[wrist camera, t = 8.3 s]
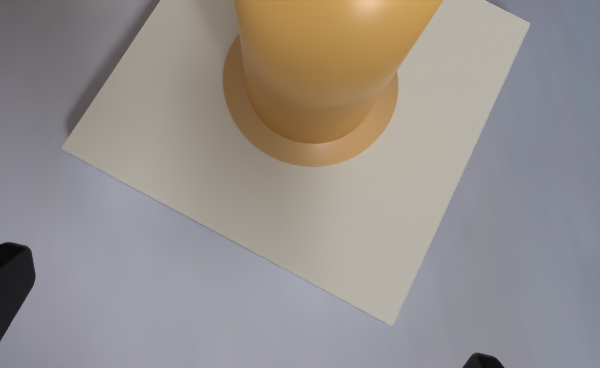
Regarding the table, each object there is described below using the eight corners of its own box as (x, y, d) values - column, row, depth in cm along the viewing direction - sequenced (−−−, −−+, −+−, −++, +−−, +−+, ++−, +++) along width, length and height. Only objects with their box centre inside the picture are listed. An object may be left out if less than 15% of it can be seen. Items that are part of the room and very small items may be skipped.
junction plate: (385, 322, 17) (394, 327, 16) (72, 155, 17) (58, 147, 16) (517, 35, 19) (533, 20, 18) (244, -105, 20) (242, -128, 19)
